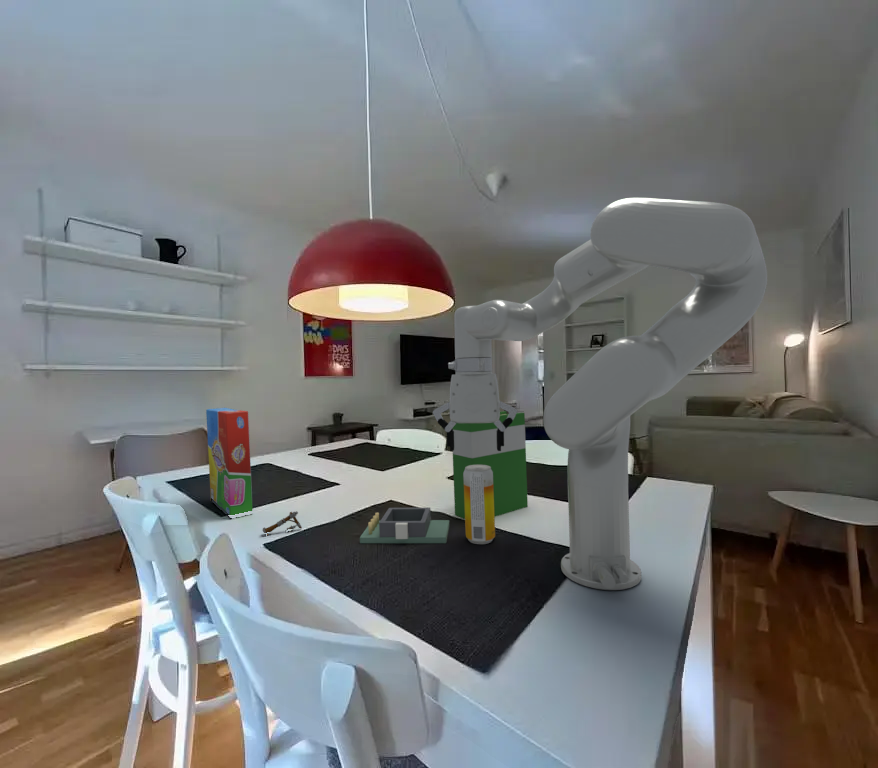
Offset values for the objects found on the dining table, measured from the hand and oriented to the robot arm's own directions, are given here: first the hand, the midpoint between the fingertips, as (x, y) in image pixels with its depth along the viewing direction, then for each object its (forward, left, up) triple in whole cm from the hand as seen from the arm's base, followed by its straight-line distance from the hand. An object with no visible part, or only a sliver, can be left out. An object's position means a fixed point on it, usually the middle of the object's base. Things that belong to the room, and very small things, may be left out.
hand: (475, 450), depth 86 cm
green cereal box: (+18, -3, -19) cm, 26 cm away
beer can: (0, 0, -19) cm, 19 cm away
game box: (+21, +68, -19) cm, 73 cm away
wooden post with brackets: (+4, +45, -19) cm, 49 cm away
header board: (+3, +16, -19) cm, 24 cm away
